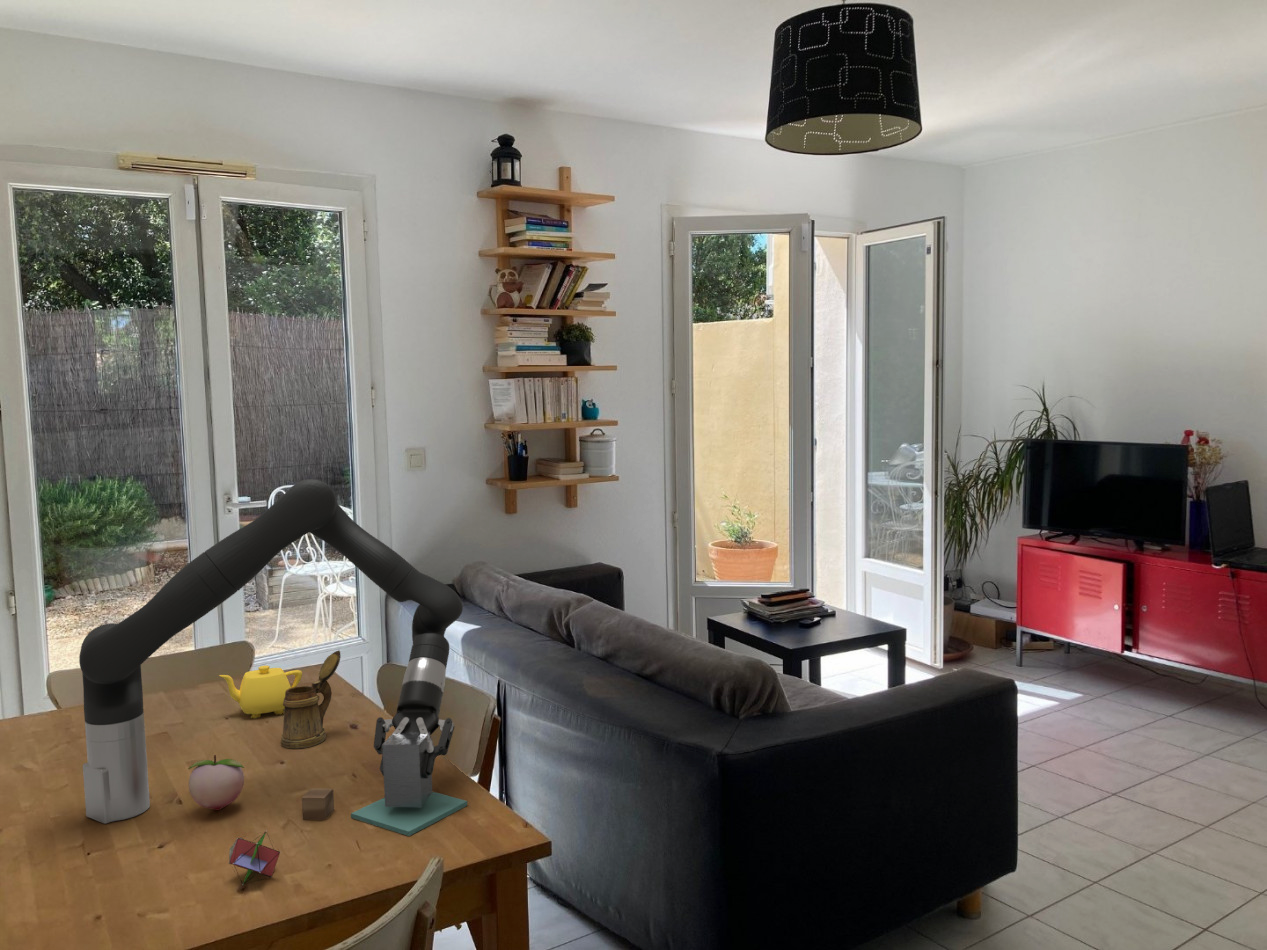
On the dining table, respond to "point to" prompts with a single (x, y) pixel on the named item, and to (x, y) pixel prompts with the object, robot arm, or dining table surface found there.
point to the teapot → (262, 690)
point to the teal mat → (409, 813)
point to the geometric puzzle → (253, 857)
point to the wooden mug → (308, 709)
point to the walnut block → (317, 804)
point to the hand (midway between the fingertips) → (405, 776)
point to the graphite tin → (405, 770)
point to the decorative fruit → (216, 782)
